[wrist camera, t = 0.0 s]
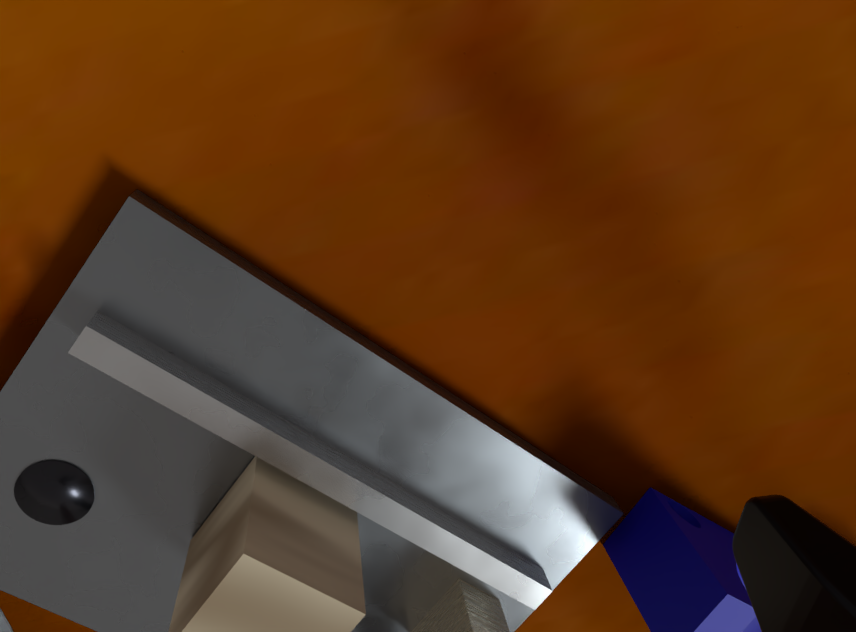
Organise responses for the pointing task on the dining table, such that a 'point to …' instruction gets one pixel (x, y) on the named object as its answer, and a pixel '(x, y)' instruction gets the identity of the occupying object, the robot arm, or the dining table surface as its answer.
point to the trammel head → (272, 561)
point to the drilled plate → (258, 447)
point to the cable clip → (680, 569)
